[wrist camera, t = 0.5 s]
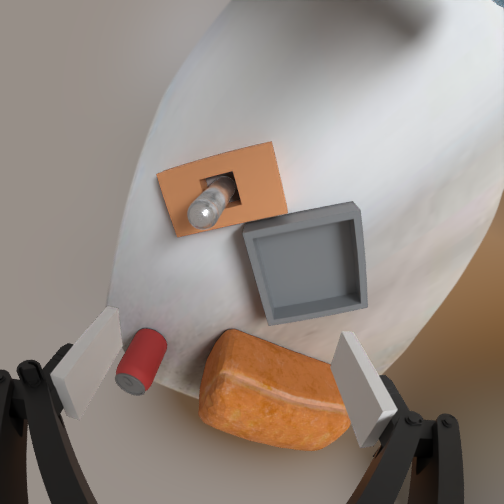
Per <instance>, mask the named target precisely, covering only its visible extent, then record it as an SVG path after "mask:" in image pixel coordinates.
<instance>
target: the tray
mask: <svg viewBox="0 0 504 504" xmlns="http://www.w3.org/2000/svg"><path fill="white" fill-rule="evenodd" d="M243 237H244V241H245V244H246V248H247V251H248V255H249V258H250V262H251V265H252V269H253V273H254V276H255V280H256V283H257V287H258V290H259V294H260V297H261V301H262V304H263V308H264V311H265V315H266V319H267V322H268V326H271V325H278V324H284V323H290V322H296V321H302V320H307V319H313V318H318V317H324V316H329V315H334V314H339V313H344V312H349V311H354V310H358V309H363V308H367V307H368V300H367V278H366V262H365V249H364V238H363V228H362V219H361V210H360V209H359V208H358V207H357V206H356V204H355V203H354V202H353V201H352V202H346V203H341V204H335V205H330V206H325V207H320V208H315V209H309V210H304V211H299V212H294V213H289V214H284V215H279V216H275V217H270V218H265V219H260V220H256V221H251V222H246V223H245V226H244V230H243Z"/></svg>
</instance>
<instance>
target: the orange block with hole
mask: <svg viewBox="0 0 504 504" xmlns="http://www.w3.org/2000/svg"><path fill="white" fill-rule="evenodd" d="M231 171H233V174H234V177H235V181H236V185H237V188H238V192H239V196H240V199H241V200H237V201H233V202H229V203H228V204H227V205H226V207H225V209H224V210H223V212H222V214H221V215H220V217H219V219H218V221H217V222H216V224H215V225H214V226H213V227H211V228H209V229H206V230H200V229H197V228H195V227H193V226H192V225H191V224H190V222H189V220H188V216H187V212H188V208H189V206H190V205H191V203H192V202H193V201H194V200H195V199H196V198H197V197H198V196H200V195H201V194H202V193H203V192H204V191H205V190H206V189H207V188H208V186H207V182H206V179H205V178H208V177H211V176H215V175H219V174H223V173H227V172H231ZM156 175H157V178H158V181H159V185H160V188H161V191H162V194H163V197H164V200H165V203H166V206H167V209H168V212H169V215H170V218H171V221H172V224H173V226H174V229H175V232H176V235H177V237H182V236H186V235H190V234H195V233H199V232H203V231H208V230H212V229H217V228H221V227H226V226H230V225H235V224H239V223H244V222H249V221H253V220H258V219H263V218H268V217H272V216H277V215H282V214H287V213H288V210H287V204H286V200H285V195H284V191H283V187H282V182H281V178H280V174H279V170H278V165H277V161H276V157H275V153H274V149H273V145H272V141H271V142H266V143H262V144H257V145H253V146H249V147H245V148H241V149H237V150H233V151H229V152H225V153H222V154H218V155H214V156H211V157H207V158H204V159H200V160H197V161H193V162H190V163H187V164H183V165H180V166H177V167H174V168H171V169H168V170H165V171H162V172H160V173H158V174H156Z"/></svg>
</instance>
